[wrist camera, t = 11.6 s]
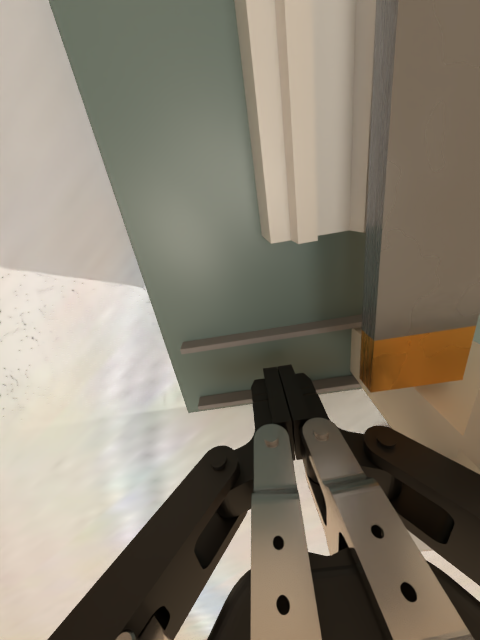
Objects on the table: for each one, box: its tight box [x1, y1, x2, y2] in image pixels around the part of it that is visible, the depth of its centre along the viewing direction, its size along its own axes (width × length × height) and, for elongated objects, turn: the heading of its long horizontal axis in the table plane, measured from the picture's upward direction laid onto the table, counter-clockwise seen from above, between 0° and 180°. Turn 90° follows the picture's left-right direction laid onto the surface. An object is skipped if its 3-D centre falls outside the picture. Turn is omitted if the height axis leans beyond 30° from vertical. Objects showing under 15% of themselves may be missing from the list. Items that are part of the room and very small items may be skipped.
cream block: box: [350, 327, 480, 474], centre depth 10 cm, size 5×4×8 cm
